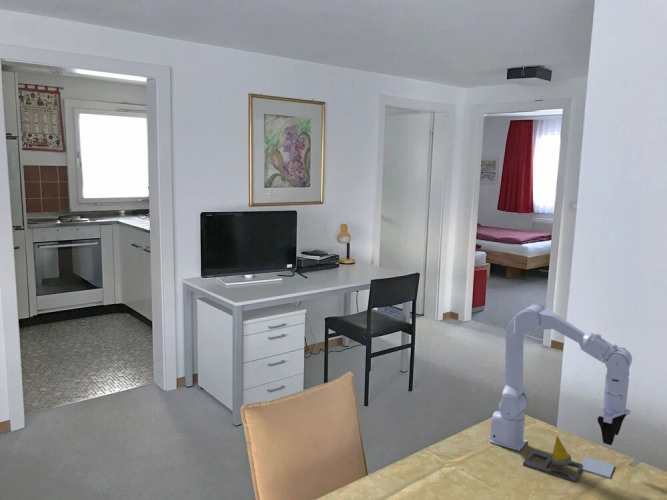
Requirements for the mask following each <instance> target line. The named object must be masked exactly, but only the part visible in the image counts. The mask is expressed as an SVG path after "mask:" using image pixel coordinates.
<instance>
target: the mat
mask: <svg viewBox="0 0 667 500" xmlns="http://www.w3.org/2000/svg"><path fill="white" fill-rule="evenodd" d="M580 464H583V465H582V467H581V470H580V471H584V472H587V473H590V474H594V475H598V476H600V477H604V478H607V479H611V476H612V475H613V471H614V470H615V467H616V466H615V464H611V463H609V462H606V461H603V460H602V461H601V460H599V459H595V458H591V457H588V456H584V457H583V459H582V461H581V462H580Z"/></svg>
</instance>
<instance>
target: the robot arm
mask: <svg viewBox="0 0 667 500" xmlns="http://www.w3.org/2000/svg"><path fill="white" fill-rule="evenodd" d="M539 326H540V327H539ZM538 327H539V330H541V331H542V330H554V331H556V332H557V333H559V334H561V335H563V336H565V337H567V338H568V339H570V340H572V341H573V342H576V343H578V344H579V347H580V350H581V351H582V352H583V353H585V354H588V355H589V356H591V357H592V358H594V359H596V360H597V361H598V362H601V363H602V364H604V365H605V367H606V374H605V379H604V380H605V381H604V390H603V400H602V404H601V411H602V413H603V416H601V415H598V417H597V423H598V425H599V427H600V432H601V437H602V443H603V444H605V445H608V446H612V445H613V443H614V440H615V436H618V435H619V433H620V431H621V428H622V424H623V421H624V420H625V418H626V416H629V415H630V414H631V410H630V409H627V402H628V400H627V399H628V394H629V393H628V391H629V385H630V384H629V383H630V377H629V376H630V366H631V364H632V363H633V356H632V354H631V352H629V351H628V349H626V348H625V347H623V346H618V345H617V344H612V343H611V342H609V341H607V340H605V339H604V338H603V337H602V334H599V333H596V334H595V333H593V332H589V333H586V332H584V331H582V330H581V329H580V328H578V327H576V326H574V325H573V324H572V323H570V322H569V321H567V320H566V319H564V318H562V317H561V316H559V315H558V314H557V313H555V312H554V311H553V310H551V309H549V308H545V306H543V305H541V304H539V303H533V304H530V305H528V306H527V307H525V308H524V309H522V310H520V311H519V312H517V313H515V314H514V316H513V318H512V319H511V321H510V322H509V323H508V325H507V326H506V327H505V355H504V356H505V357H504V358H505V359H504V361H505V363H504V364H505V366H504V367H505V369H504V370H505V372H504V374H505V375H504V388H503V390H502V393H501V400H500V401H499V404H498V410H495V411H494V412H493V414H492V417H491V423H490V434H489V441H488V442H489V443H491V444H494V445H497V446H502V447H504V448H508V449H510V450H511V449H512V450H515V451H518V452H520V451H521V450H522V449H523V448H524V446H525V445H526V443H528V439H524V434H525V433H524V432H525V422H526V415H525V414H526V413H525V411H524V410H525V409H526V408H527V407H528V404H529V399H528V397H527V395H526V388H525V386H524V380H523V379H524V335H525V334H526V333H528V332H531V331H534V330H536V329H538Z"/></svg>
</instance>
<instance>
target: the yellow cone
mask: <svg viewBox="0 0 667 500" xmlns="http://www.w3.org/2000/svg"><path fill="white" fill-rule="evenodd" d="M550 455H551V462H552V466H554V467H556V468H559V469H561V470H563V468H564V467H566V466H568V464H570V462H571V461H572V457H571V454H570V453H568V452H567V449H566V448H565V446H564V444H563V443H562V441H561V439H560V438H559V436H558V435H556V437H555V442H554V446H553V451H552V454H550Z"/></svg>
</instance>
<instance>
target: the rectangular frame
mask: <svg viewBox="0 0 667 500" xmlns="http://www.w3.org/2000/svg"><path fill="white" fill-rule="evenodd" d="M551 455H552V454H551V453H550V454H549V453H547V452H543V451H540V450H536V449H532V450H531V451H530V452H529V454H528V456H527V457H526V458H525V459H524V461H523V462H522V466H523V467H526V468H529V469H533V470H537V471H539V472H541V473H546V474H547V475H551V476H555V477H557V478H561V479H563V480H567V481H571V482H572V483H576V481H577V478H578V476H579V474H580V473H581V471H582V470H581V467H582V465H583V464H581V462H576V461H572V460H571V462H570V464H568V465H569V466H572V467H575V468H577V470H576V472H575V474H574V476H573V475H569V474H566V473H563V472H560V471H558V470H553V469H551V468H549V466H550V464H551V462H552V461H551ZM534 457H537V458H540V459H542V460H545V462H544V463H543V464H541V463H538V462H534V461H532V459H533V458H534ZM568 465H567V466H568Z"/></svg>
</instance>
